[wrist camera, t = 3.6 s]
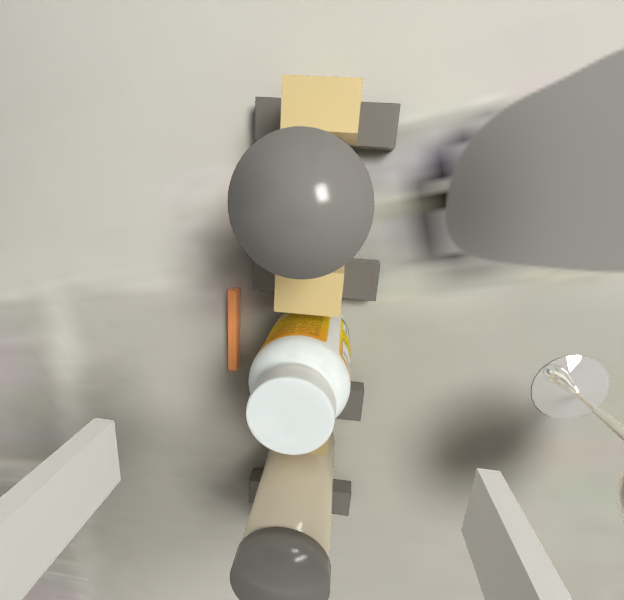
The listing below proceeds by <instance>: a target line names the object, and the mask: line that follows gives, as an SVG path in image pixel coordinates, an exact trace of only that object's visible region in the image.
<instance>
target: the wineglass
mask: <svg viewBox="0 0 624 600" xmlns="http://www.w3.org/2000/svg"><path fill="white" fill-rule="evenodd" d="M609 386H610V378H609V375H608V373H607V370H606V368H605V367H604V366H603V365H602V364H601V363H600V362H599V361H597V360H594V359H592V358H590V357H587V356H580V355H573V356H565V357H562V358H559V359H557V360H554V361H552V362H550V363H549V364H548V365H546V366H545V367H544V368H542V369H541V371H540V372H539V373H538V374H537V376H536V377H535V379H534V382H533V385H532V399H533V401H534V403H535V406H536V407H537V408H538V409H539V410H540V411H541V412H542V413H544V414H546V415H548V416H550V417H552V418H558V419H572V418H578V417H581V416H583V415H586V414H588V413H590V412H592V413H593V414H594V415H596V416H597V417H598V418H599V419H600V420H601V421H602V422H603V423H604V424H605V425H606V426H607V427H608V428H609V429H610V430H611V431H612V432H613V433H615V434H616V435H617V436H618V437H619V438H620V439H621V440H622V441H623V442H624V426H623V425H622V424H621V423H619V422H618V421H617V420H615V419H614V418H613V417H611V416H610V415H609V414H607V413H606V412H605V411H603V410H602V409H601V408H599V407H598V406H599V405H600V404H601V403H602V402H603V401H604V399H605V398H606V396H607V393H608V391H609ZM616 504H617V507H618V510H619V512H620V515H621V518H622V520H623V522H624V467H623V469H622V472H621V475H620V478H619V482H618V485H617V495H616Z"/></svg>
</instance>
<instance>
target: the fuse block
mask: <svg viewBox="0 0 624 600" xmlns="http://www.w3.org/2000/svg"><path fill="white" fill-rule="evenodd" d="M362 85H363V78H348V77H325V76H302V75H282V95H281V98H271V97H256V101H255V140H256V141H258V140H259V139H261V138H262V137H264V136H265V135H267V134H269V133H271V132H273V131H276V130H279V129H282V128H287V127H293V126H306V127H314V128H318V129H321V130H325V131H327V132H329V133H331V134H334V135H335V136H337V137H338V138H340V139H342V140H343V141H344V142H345V143H347V144H348V145H349V146H350V147H351V148H354V149H371V150H388V151H392V150H393V149H394V148H395V144H396V136H397V128H398V120H399V112H400V104H395V103H375V102H361V95H362ZM379 270H380V262H379V261H378V260H365V259H353V258H352V259H351V260H350V261H349V262H348V263H346V264H345V265H344V266H342V267H341V268H340V269H338V270H336V271H334V272H332V273H330V274H328V275H325V276H322V277H318V278H314V279H291V278H285V277H282V276H278V275H276V274H274V273H271V272H269V271H267V270H266V269H264V268H262V267H261V266H260V265H258V264H257V263H256V262H254V261H253V290H259V291H270V292H275V293H274V311H275V312H285V313H296V314H307V315H317V316H328V317H338V318H340V313H341V303H342V298H347V299H358V300H369V301H376V294H377V286H378V278H379ZM239 366H240V288H233V287H231V288H230V289H229V290H228V370H232V371H237V369H238V368H239ZM363 397H364V385H363V383H360V382H351V387H350V394H349V398H348V401H347V403H346V405H345V407H344V409H343V410H342V412H341V413H340V414H339V416H338V417H337V418H338V419H346V420H355V421H360V420H361V412H362V404H363ZM327 449H328V440H327V441H326V442H325V443H324V444H323V445H322V446H320V447H319V448H317V449H315V450H313V451H311V452H309V454H317V455H325V456H327ZM262 473H263V470H258V469H253V472H252V475H251V478H250V481H249V502H251V503H254V499H255V496H256V493H257V490H258V486H259V483H260V480H261V476H262ZM350 499H351V482H350V481H342V480H335V479H333V491H332V512H331V514H338V515H345V516H348V515H349V507H350Z"/></svg>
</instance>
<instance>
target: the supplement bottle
mask: <svg viewBox="0 0 624 600" xmlns="http://www.w3.org/2000/svg"><path fill="white" fill-rule="evenodd" d="M350 387H351V355H350V333H349V329H348V326H347V324H346V322H345V320H344V318H343V317H342V316H341V315H340V318H338V317H328V316H317V315H307V314H296V313H285V312H283V313H282V315H281V316H280V317H279V319H278V320H277V322H276V323H275V325H274V327H273V328H272V330H271V332H270V333H269V335H268V337H267V339H266V340H265V342H264V344H263V345H262V347H261V349H260V350H259V352H258V354H257V355H256V357H255V359H254V361H253V363H252V365H251V368H250V372H249V391H250V397H249V399H248V402H247V406H246V420H247V423H248V426H249V429H250V431H251V432H252V434H253V435H254V437H255V438H256V439H257V440H258V441H259V442H260V443H261V444H263V445H264V446H265V447H267V448H269V449H271V450H273V451H275V452H278V453H282V454H288V455H300V454H306V453H309V452H311V451H313V450H315V449H317V448H319V447H320V446H322V445H323V444H324V443H325V442H326V441H327V440H328V438H329V437H330V435H331V433H332V431H333V427H334V423H335V418H337V417H338V416H339V414H340V413H341V412H342V410H343V409H344V407H345V405H346V403H347V401H348V398H349V394H350Z"/></svg>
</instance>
